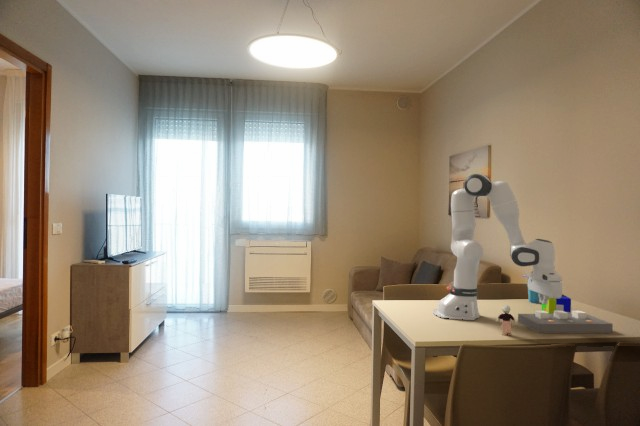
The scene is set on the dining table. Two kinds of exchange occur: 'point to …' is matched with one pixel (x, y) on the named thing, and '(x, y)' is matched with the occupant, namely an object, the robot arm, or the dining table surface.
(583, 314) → the button
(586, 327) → the button board
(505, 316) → the grandmother figurine
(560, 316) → the button middle
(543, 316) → the button
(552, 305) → the puzzle toy
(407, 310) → the dining table surface
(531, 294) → the cup
